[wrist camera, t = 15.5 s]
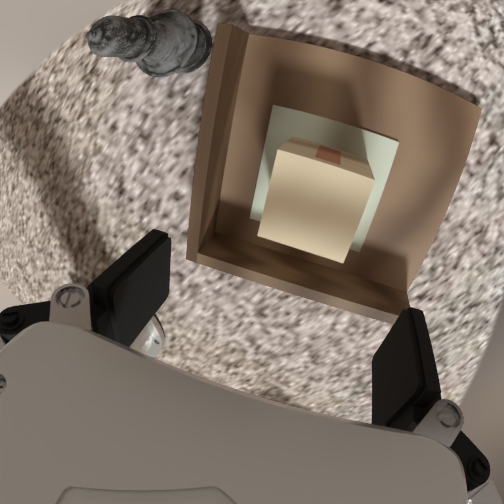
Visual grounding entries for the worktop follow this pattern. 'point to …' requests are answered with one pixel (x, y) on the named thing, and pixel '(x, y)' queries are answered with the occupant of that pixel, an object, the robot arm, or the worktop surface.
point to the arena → (333, 135)
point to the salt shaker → (153, 41)
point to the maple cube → (316, 198)
